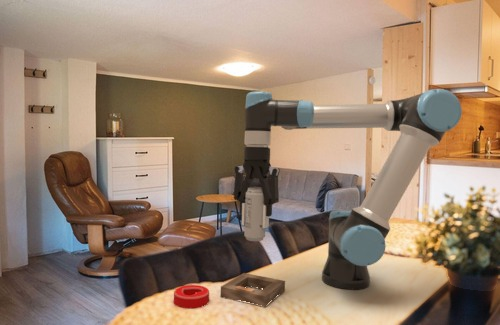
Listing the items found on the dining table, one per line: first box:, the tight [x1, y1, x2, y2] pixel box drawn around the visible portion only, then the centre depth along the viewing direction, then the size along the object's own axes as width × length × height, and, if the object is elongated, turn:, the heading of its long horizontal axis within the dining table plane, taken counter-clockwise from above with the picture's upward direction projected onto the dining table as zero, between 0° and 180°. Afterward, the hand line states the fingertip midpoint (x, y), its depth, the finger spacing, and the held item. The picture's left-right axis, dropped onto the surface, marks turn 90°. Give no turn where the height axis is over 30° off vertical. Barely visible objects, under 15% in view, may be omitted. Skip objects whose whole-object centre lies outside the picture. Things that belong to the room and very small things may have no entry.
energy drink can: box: [244, 186, 266, 242], centre depth 110 cm, size 6×6×15 cm
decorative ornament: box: [173, 284, 210, 310], centre depth 105 cm, size 10×10×3 cm
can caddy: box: [220, 272, 286, 307], centre depth 111 cm, size 14×14×3 cm
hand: (255, 225), depth 110 cm, fingers closed on energy drink can, 6 cm apart
